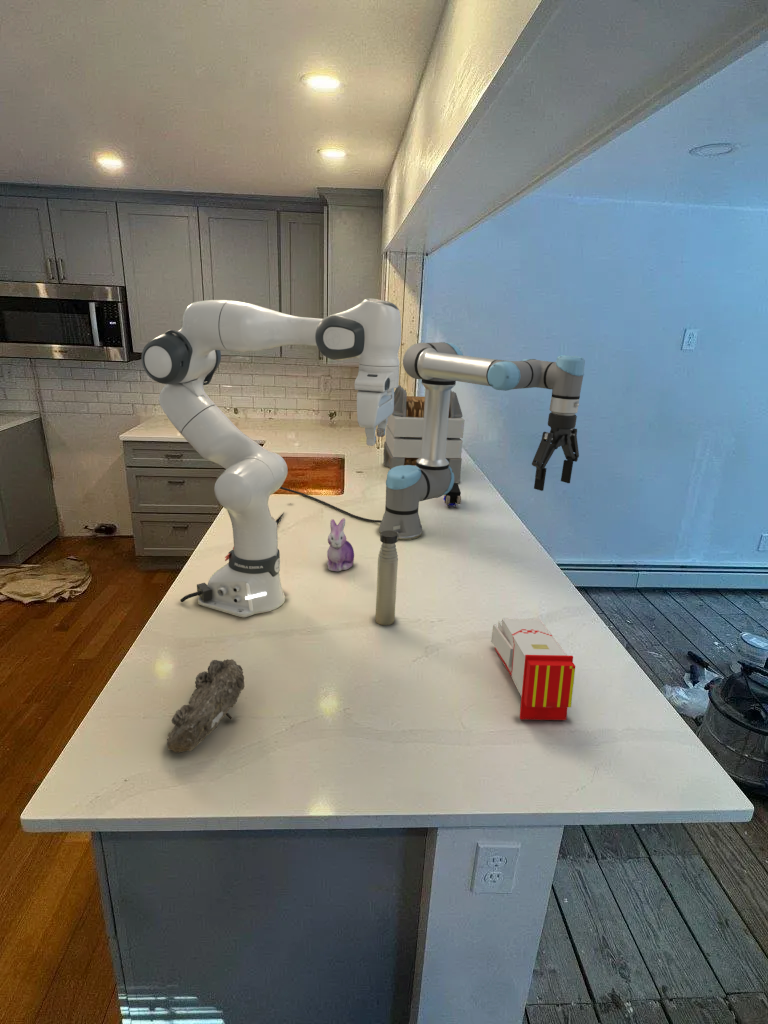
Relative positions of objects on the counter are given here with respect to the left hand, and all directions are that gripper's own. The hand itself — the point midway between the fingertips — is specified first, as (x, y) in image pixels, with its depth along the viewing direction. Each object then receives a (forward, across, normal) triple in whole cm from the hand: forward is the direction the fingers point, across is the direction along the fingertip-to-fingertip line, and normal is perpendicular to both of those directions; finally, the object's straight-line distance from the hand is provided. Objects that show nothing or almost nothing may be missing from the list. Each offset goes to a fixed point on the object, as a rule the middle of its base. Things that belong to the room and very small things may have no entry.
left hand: (376, 440), depth 128 cm
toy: (+46, +14, +39) cm, 62 cm away
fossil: (+46, +43, -20) cm, 67 cm away
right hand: (+18, -43, +43) cm, 64 cm away
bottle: (+46, -1, +4) cm, 47 cm away
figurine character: (+46, -98, +10) cm, 109 cm away
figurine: (+46, -28, -16) cm, 57 cm away
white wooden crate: (+47, -140, -10) cm, 148 cm away
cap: (+23, -1, +4) cm, 23 cm away
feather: (+47, -62, -49) cm, 92 cm away
